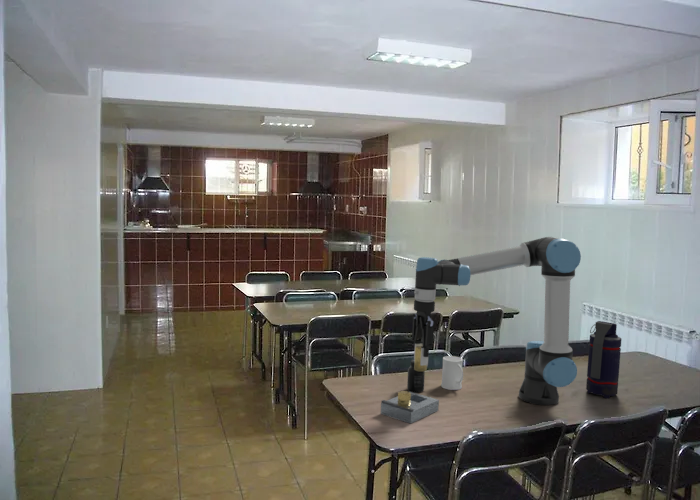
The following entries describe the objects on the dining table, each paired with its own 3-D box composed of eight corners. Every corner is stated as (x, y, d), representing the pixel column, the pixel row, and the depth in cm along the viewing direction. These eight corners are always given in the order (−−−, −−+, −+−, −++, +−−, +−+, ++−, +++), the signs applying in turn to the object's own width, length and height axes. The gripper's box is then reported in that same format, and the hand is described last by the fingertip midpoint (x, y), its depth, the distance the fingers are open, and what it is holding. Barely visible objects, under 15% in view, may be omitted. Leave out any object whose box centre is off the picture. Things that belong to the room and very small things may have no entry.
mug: (469, 391, 238) (471, 363, 237) (450, 393, 235) (452, 364, 234) (455, 383, 249) (456, 355, 248) (437, 384, 246) (438, 356, 245)
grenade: (593, 387, 249) (598, 318, 246) (621, 394, 241) (627, 322, 238) (578, 394, 239) (583, 322, 237) (608, 402, 231) (613, 327, 228)
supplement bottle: (426, 389, 239) (427, 360, 238) (420, 394, 233) (422, 364, 232) (410, 386, 242) (411, 358, 241) (404, 391, 236) (405, 362, 235)
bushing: (429, 369, 214) (430, 348, 214) (422, 372, 211) (423, 350, 210) (418, 366, 217) (419, 345, 217) (411, 369, 214) (412, 347, 213)
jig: (438, 410, 215) (439, 389, 214) (410, 423, 201) (411, 401, 201) (409, 401, 223) (410, 381, 223) (380, 413, 210) (381, 392, 209)
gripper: (404, 296, 219) (401, 357, 221) (426, 304, 202) (422, 370, 204) (422, 295, 221) (419, 356, 223) (445, 304, 205) (441, 369, 207)
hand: (420, 362), depth 214 cm, fingers closed on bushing, 4 cm apart
